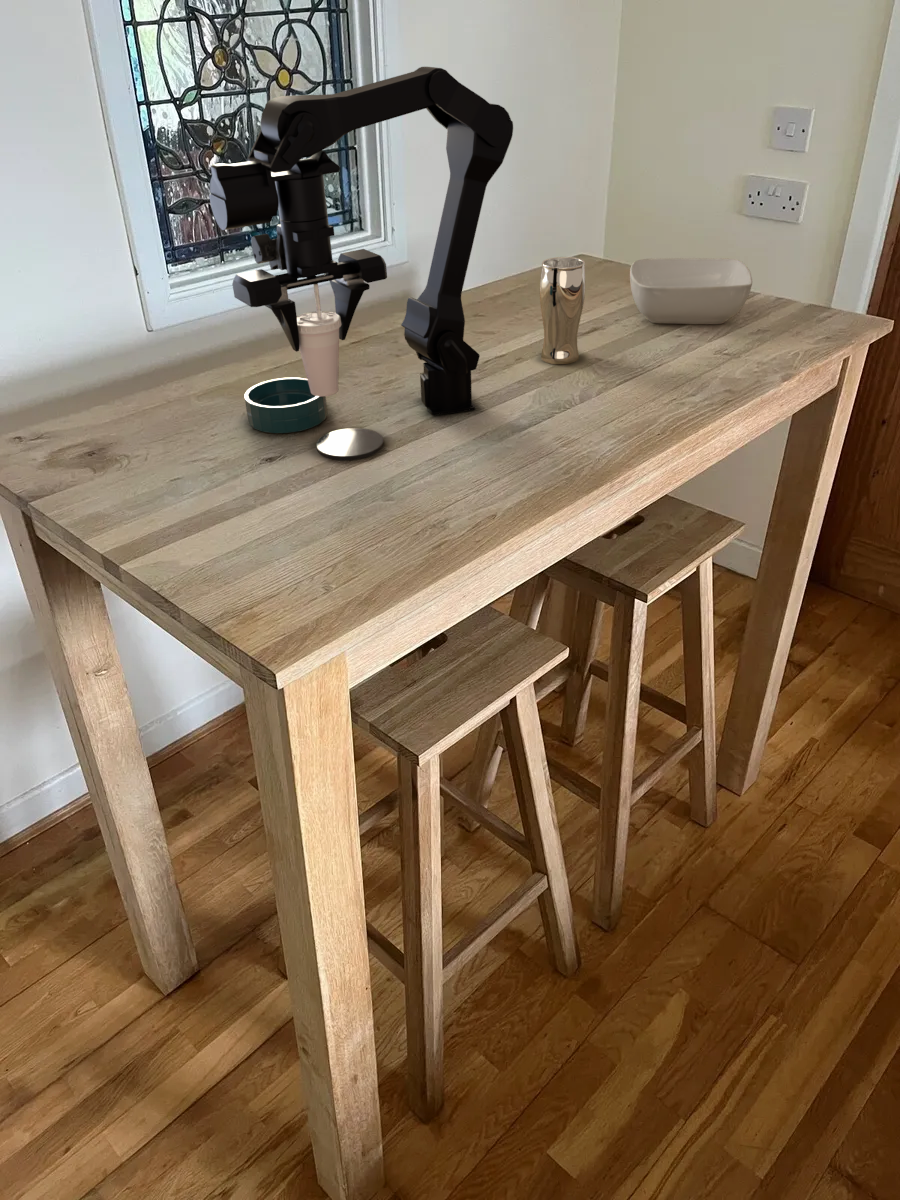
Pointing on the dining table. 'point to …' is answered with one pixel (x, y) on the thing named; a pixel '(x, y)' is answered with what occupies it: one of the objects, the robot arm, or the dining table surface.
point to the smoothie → (320, 348)
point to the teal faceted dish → (284, 406)
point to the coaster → (349, 444)
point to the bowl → (689, 289)
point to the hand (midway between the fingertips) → (319, 344)
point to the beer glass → (561, 307)
